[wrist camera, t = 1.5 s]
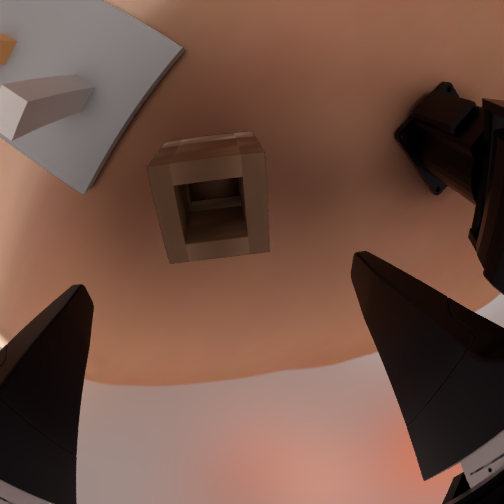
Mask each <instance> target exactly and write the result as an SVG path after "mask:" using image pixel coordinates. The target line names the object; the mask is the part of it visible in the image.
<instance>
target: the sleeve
mask: <svg viewBox="0 0 504 504" xmlns="http://www.w3.org/2000/svg"><path fill="white" fill-rule="evenodd" d="M147 171H148V176H149V181H150V186H151V190H152V195H153V199H154V204H155V208H156V212H157V216H158V220H159V225H160V229H161V233H162V237H163V240H164V244H165V248H166V252H167V256H168V259H169V263H170V264H173V263H181V262H189V261H198V260H206V259H214V258H223V257H231V256H239V255H247V254H256V253H264V252H270V246H269V224H268V203H267V183H266V165H265V152H264V150H263V149H262V147H261V146H260V144H259V142H258V141H257V139H256V138H255V136H254V135H253V133H252V131H248V132H237V133H228V134H219V135H211V136H203V137H196V138H189V139H183V140H176V141H170V142H165V143H164V145H163V146H162V147H161V149H160V150H159V151H158V153H157V154H156V156H155V157H154V158H153V160H152V161H151V163H150V164H149V166H148V167H147ZM237 177H238V182H239V193H240V196H232V197H224V198H216V199H208V200H200V201H193V202H192V200H191V194H190V188H189V183H197V182H204V181H212V180H220V179H228V178H237Z"/></svg>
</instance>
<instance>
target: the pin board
mask: <svg viewBox="0 0 504 504" xmlns="http://www.w3.org/2000/svg"><path fill="white" fill-rule="evenodd" d="M184 51H185V49H184V48H183V47H181V46H180V45H178V44H177V43H175V42H173V41H172V40H170V39H169V38H167V37H166V36H164V35H162V34H161V33H159V32H158V31H156V30H154V29H153V28H151V27H149V26H148V25H146V24H144V23H143V22H141V21H139V20H137V19H136V18H134V17H132V16H130V15H129V14H127V13H125V12H123V11H121V10H119V9H117V8H116V7H114V6H112V5H110V4H108V3H106V2H104V1H102V0H0V137H1V138H2V139H3V140H5V141H6V142H7V143H9V144H10V145H12V146H13V147H14V148H16V149H17V150H19V151H20V152H21V153H23V154H24V155H26V156H27V157H28V158H30V159H31V160H33V161H34V162H36V163H37V164H38V165H40V166H41V167H43V168H44V169H46V170H47V171H49V172H50V173H51V174H53V175H54V176H56V177H57V178H59V179H60V180H62V181H63V182H65V183H66V184H68V185H69V186H71V187H72V188H74V189H75V190H77V191H78V192H80V193H81V194H83V195H84V194H85V193H86V192H87V191H88V190H89V189H90V188H91V187H92V185H93V183H94V182H95V180H96V178H97V176H98V174H99V173H100V171H101V169H102V167H103V165H104V164H105V162H106V160H107V159H108V157H109V155H110V153H111V152H112V150H113V149H114V147H115V145H116V144H117V142H118V140H119V139H120V137H121V136H122V134H123V133H124V131H125V129H126V128H127V126H128V125H129V123H130V122H131V120H132V119H133V117H134V116H135V115H136V113H137V112H138V110H139V109H140V107H141V106H142V105H143V103H144V102H145V100H146V99H147V98H148V96H149V95H150V94H151V92H152V91H153V90H154V88H155V87H156V86H157V84H158V83H159V82H160V80H161V79H162V78H163V77H164V75H165V74H166V73H167V72H168V70H169V69H170V68H171V67H172V65H173V64H174V63H175V62H176V61H177V59H178V58H179V57H180V56H181V55H182V54H183V52H184Z"/></svg>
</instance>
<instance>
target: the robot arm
mask: <svg viewBox="0 0 504 504" xmlns="http://www.w3.org/2000/svg"><path fill="white" fill-rule="evenodd" d="M447 87H448V90H447ZM402 134H404V137H403V139H401V135H402ZM395 139H396V141H397V142H398V144H399V145H400V146H401V148H402V149H403V150H404V152H405V153H406V155H407V156H408V158H409V159H410V160H411V162H412V163H413V165H414V166H415V168H416V169H417V171H418V172H419V174H420V175H421V177H422V178H423V180H424V182H425V183H426V185H427V186H428V188H429V190H430V191H431V192H432V193H433V194H434V195H439V194H440V193H441V192H442V191H443V190H444V189H445V188H446V187H447V186H449V187H451V188H452V189H454V190H455V191H456V192H458V193H459V194H461V195H462V196H463V197H465V198H466V199H468V200H469V201H470V202H472V203H473V204H474V205H476V207H475V213H474V218H473V223H472V228H471V229H470V231H469V236H468V237H469V239H470V241H471V243H472V245H473V247H474V248H475V250H476V252H477V256H478V258H479V260H480V262H481V264H482V266H483V268H484V271H483V275H484V277H485V278H486V279H487V280H488V281H489V282H490V284H491V285H492V286H493V287H494V288H496V289H497V290H498V291H499V292H501V293H502V294H503V295H504V101H502V100H494V99H485V98H482V107H479V106H476V104H475V102H473V101H470V100H466V99H463V98H459V96H458V94H457V92H456V91H455V89H454V87H453V85H452V84H451V83H449V82H443V83H441V85H440V86H439V87H438V88H437V89H436V90H435V91H432V92H431V93H430V94H429V95H428V96H427V97H426V98H425V99H424V101H423V102H422V103H421V104H420V105H419V106H418V107H417V108H416V109H415V110H414V111H413V113H412V115H411V116H410V117H409V118H408V119H407V120H406V121H405V123H404V124H403V125H402V126H401V127H400V128H399V129H398V130H397V131H396V133H395ZM436 187H437V189H436ZM435 189H436V190H435ZM351 279H352V282H353V285H354V289H355V292H356V295H357V298H358V301H359V304H360V307H361V311H362V314H363V316H364V319H365V321H366V324H367V326H368V328H369V331H370V333H371V335H372V338H373V340H374V343H375V345H376V347H377V350H378V352H379V355H380V357H381V359H382V362H383V364H384V367H385V369H386V372H387V374H388V377H389V380H390V382H391V385H392V387H393V390H394V393H395V395H396V398H397V401H398V403H399V406H400V409H401V412H402V415H403V417H404V420H405V423H406V426H407V430H408V432H409V435H410V438H411V442H412V445H413V448H414V451H415V454H416V457H417V460H418V463H419V467H420V470H421V474H422V477H423V480H424V481H426V480H428V479H430V478H432V477H434V476H436V475H438V474H440V473H442V472H443V471H445V470H447V469H449V468H451V467H453V466H454V465H456V464H458V463H461V466H462V468H463V471H464V472H462V473H461V474H459V475H457V476H456V477H454V478H453V481H452V483H451V485H450V488H449V490H448V492H447V494H446V497H445V499H444V501H443V503H442V504H504V328H503V327H501V326H499V325H497V324H495V323H493V322H491V321H489V320H488V319H486V318H484V317H482V316H480V315H478V314H476V313H475V312H473V311H471V310H469V309H467V308H466V307H464V306H462V305H460V304H459V303H457V302H455V301H454V300H452V299H451V298H447V296H445V295H444V294H442V293H440V292H439V291H437V290H435V289H434V288H432V287H430V286H428V285H427V284H425V283H423V282H421V281H420V280H418V279H416V278H415V277H413V276H411V275H409V274H407V273H406V272H404V271H402V270H400V269H399V268H397V267H395V266H393V265H391V264H390V263H388V262H386V261H384V260H382V259H380V258H379V257H377V256H375V255H373V254H371V253H369V252H367V251H362V252H356V253H355V254H354V256H353V263H352V269H351ZM93 311H94V305H93V302H92V300H91V298H90V296H89V294H88V292H87V289H86V288H85V286H84V285H82V284H78V285H72V286H71V287H70V288H69V289H67V290H66V291H65V292H64V293H63V294H62V295H60V296H59V297H58V298H57V299H56V300H55V301H53V302H52V303H51V304H50V305H49V306H48V307H47V308H45V309H44V310H43V311H42V312H41V313H40V314H39V315H38V316H36V317H35V318H34V319H33V320H32V321H31V322H30V323H29V324H28V325H27V326H26V327H24V328H23V329H22V330H21V331H20V332H19V333H18V334H17V335H16V336H15V337H14V338H13V339H12V340H11V341H10V342H9V343H8V345H5V346H4V347H3V348H2V349H1V350H0V504H49V503H51V504H76V459H77V458H76V454H77V438H78V425H79V415H80V405H81V397H82V390H83V383H84V376H85V370H86V364H87V358H88V353H89V347H90V338H91V328H92V319H93Z"/></svg>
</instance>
